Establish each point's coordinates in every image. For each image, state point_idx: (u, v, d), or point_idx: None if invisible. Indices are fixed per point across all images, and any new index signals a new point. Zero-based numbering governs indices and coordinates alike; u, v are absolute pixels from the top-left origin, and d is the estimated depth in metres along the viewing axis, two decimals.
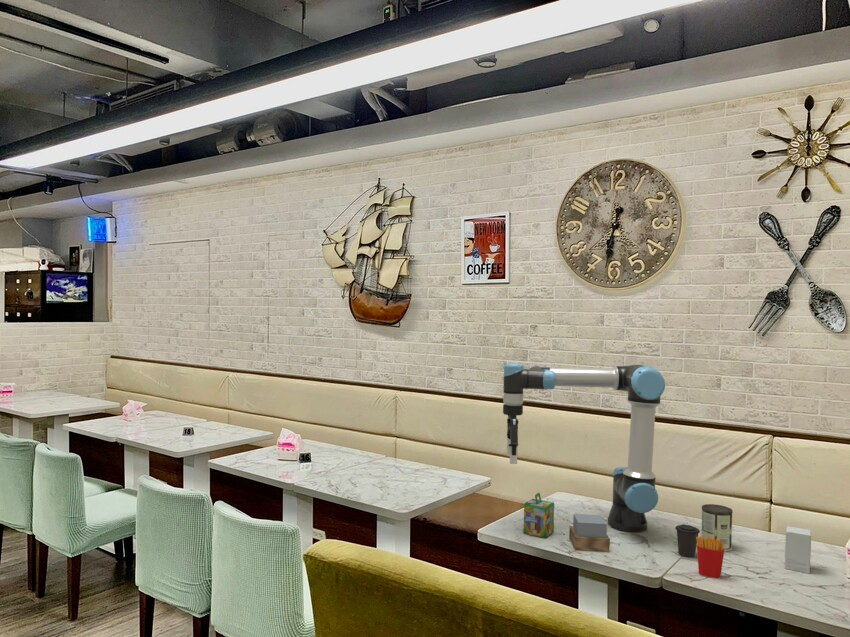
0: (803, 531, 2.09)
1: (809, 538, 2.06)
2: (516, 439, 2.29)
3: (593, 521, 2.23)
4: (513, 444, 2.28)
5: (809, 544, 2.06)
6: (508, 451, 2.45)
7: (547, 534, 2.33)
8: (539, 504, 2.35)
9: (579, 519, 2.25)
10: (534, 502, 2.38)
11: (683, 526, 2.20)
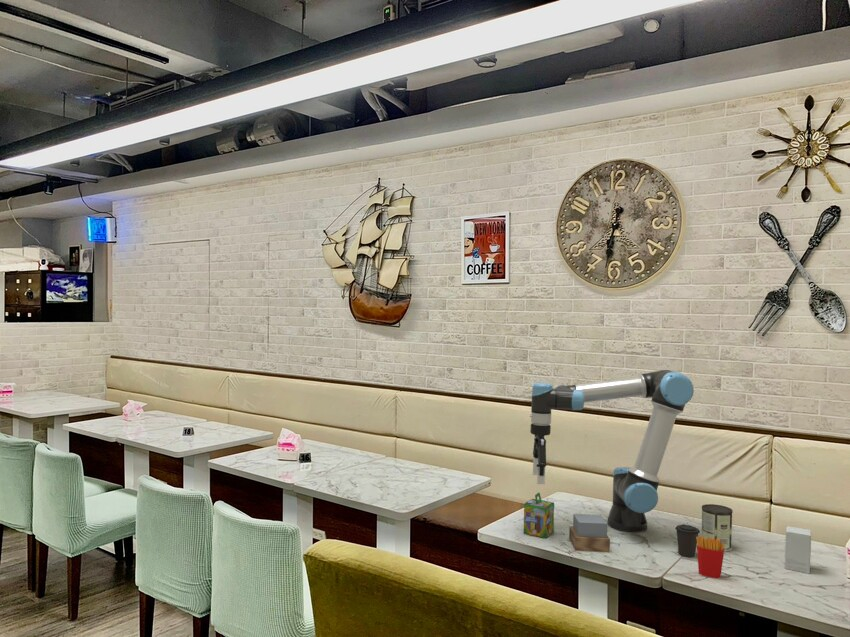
0: (803, 531, 2.09)
1: (809, 538, 2.06)
2: (544, 460, 2.29)
3: (593, 521, 2.23)
4: (541, 465, 2.28)
5: (809, 544, 2.06)
6: (534, 470, 2.44)
7: (547, 534, 2.33)
8: (539, 504, 2.35)
9: (580, 519, 2.25)
10: (534, 502, 2.38)
11: (683, 526, 2.20)
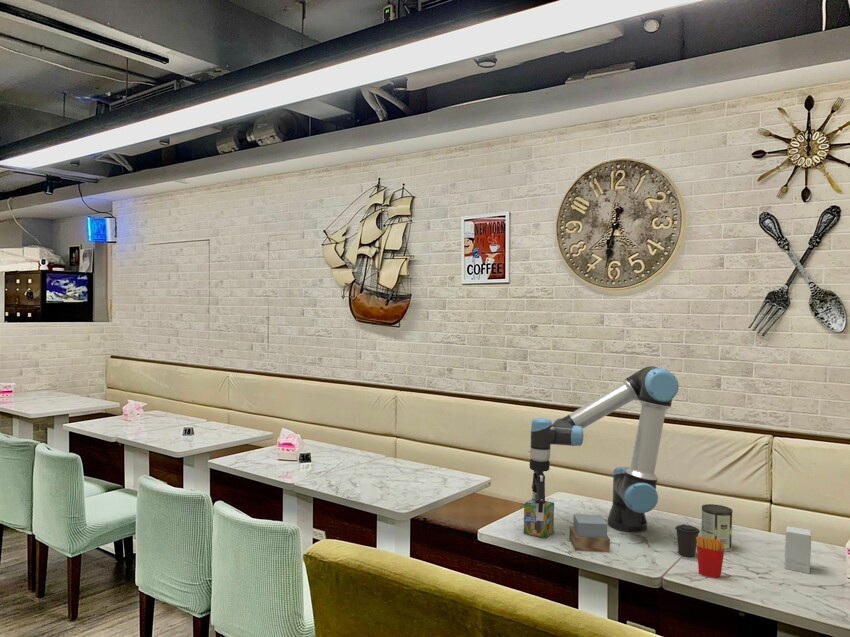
0: (803, 531, 2.09)
1: (809, 538, 2.06)
2: (543, 496, 2.29)
3: (593, 521, 2.23)
4: (540, 502, 2.28)
5: (809, 544, 2.06)
6: None
7: (547, 534, 2.33)
8: None
9: (580, 520, 2.24)
10: (534, 502, 2.38)
11: (683, 526, 2.20)
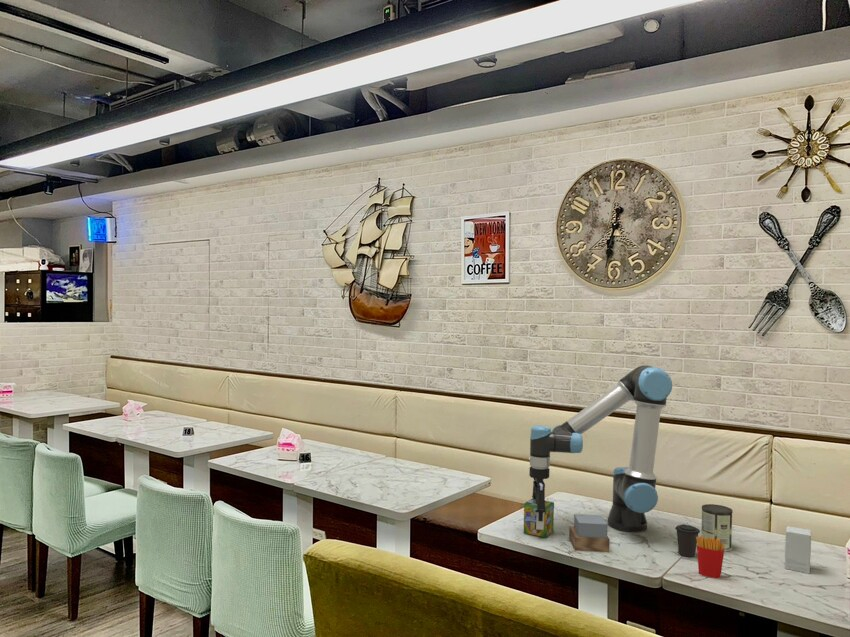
0: (803, 531, 2.09)
1: (809, 538, 2.06)
2: (543, 505, 2.29)
3: (593, 521, 2.23)
4: (540, 510, 2.29)
5: (809, 544, 2.06)
6: None
7: (547, 534, 2.33)
8: None
9: (580, 520, 2.24)
10: (534, 502, 2.38)
11: (683, 526, 2.20)
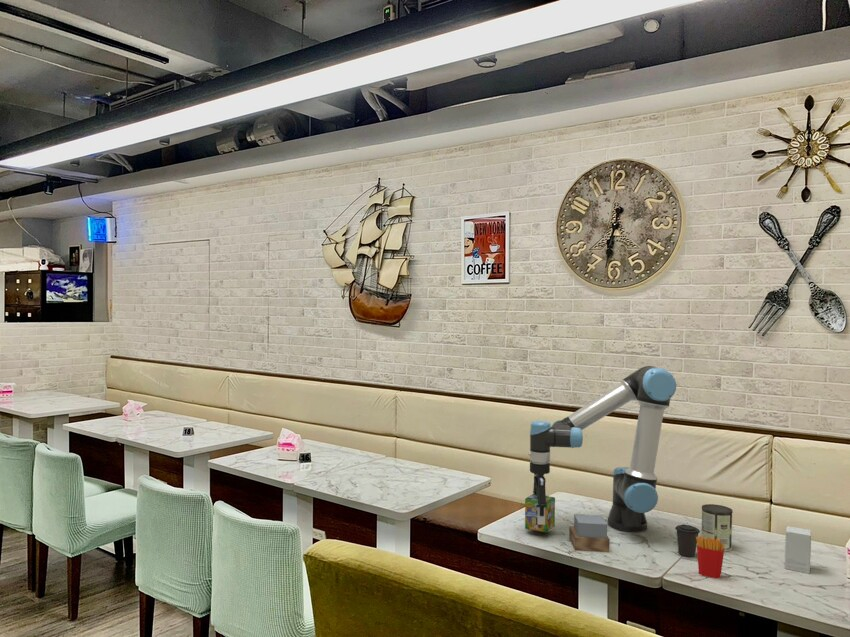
0: (803, 531, 2.09)
1: (809, 538, 2.06)
2: (544, 500, 2.29)
3: (593, 521, 2.23)
4: (541, 505, 2.29)
5: (809, 544, 2.06)
6: None
7: (548, 529, 2.33)
8: None
9: (580, 520, 2.24)
10: (535, 497, 2.38)
11: (683, 526, 2.20)
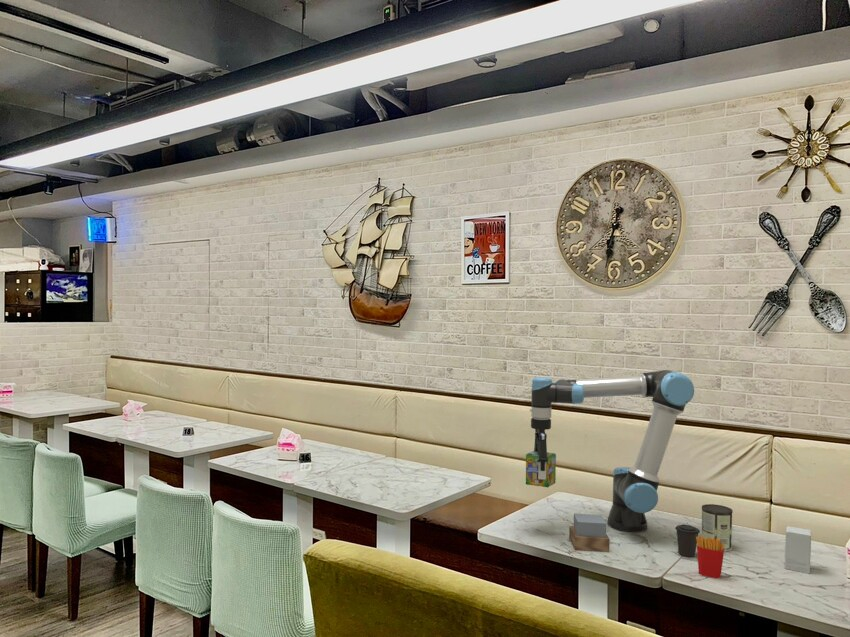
0: (803, 531, 2.09)
1: (809, 538, 2.06)
2: (545, 455, 2.29)
3: (592, 520, 2.24)
4: (542, 460, 2.29)
5: (809, 544, 2.06)
6: None
7: (549, 484, 2.33)
8: None
9: (579, 519, 2.25)
10: (536, 453, 2.38)
11: (683, 526, 2.20)
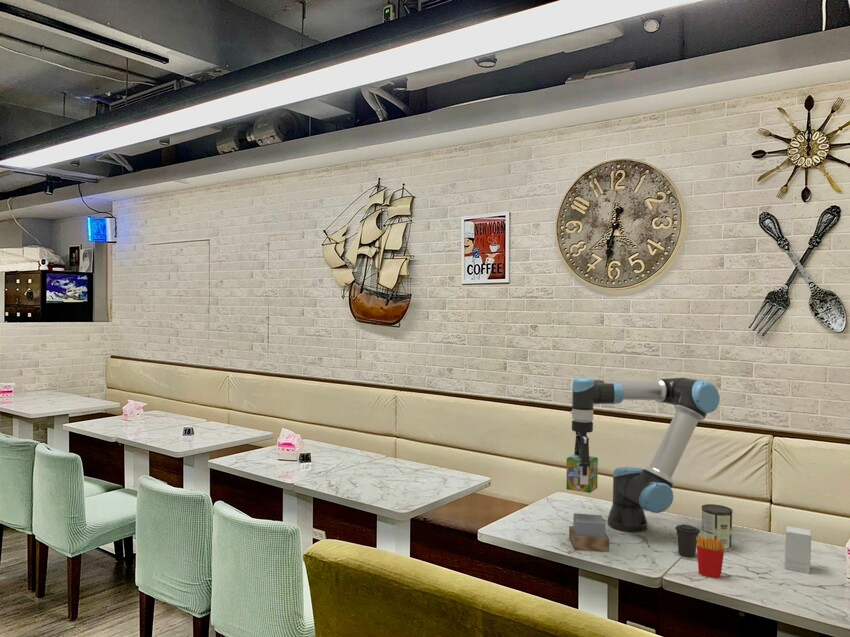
0: (803, 531, 2.09)
1: (809, 538, 2.06)
2: (587, 459, 2.19)
3: (592, 521, 2.23)
4: (584, 464, 2.19)
5: (809, 544, 2.06)
6: None
7: (591, 489, 2.23)
8: None
9: (579, 519, 2.25)
10: (577, 457, 2.28)
11: (683, 526, 2.20)
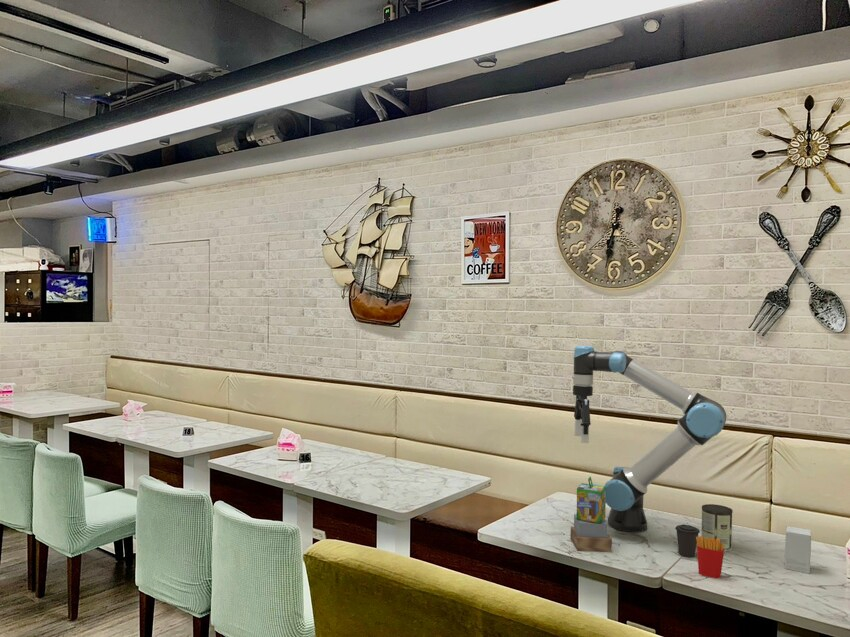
0: (803, 531, 2.09)
1: (809, 538, 2.06)
2: (588, 418, 2.36)
3: None
4: (586, 423, 2.35)
5: (809, 544, 2.06)
6: (576, 431, 2.51)
7: (602, 519, 2.22)
8: (593, 488, 2.24)
9: None
10: (586, 486, 2.26)
11: (683, 526, 2.20)
